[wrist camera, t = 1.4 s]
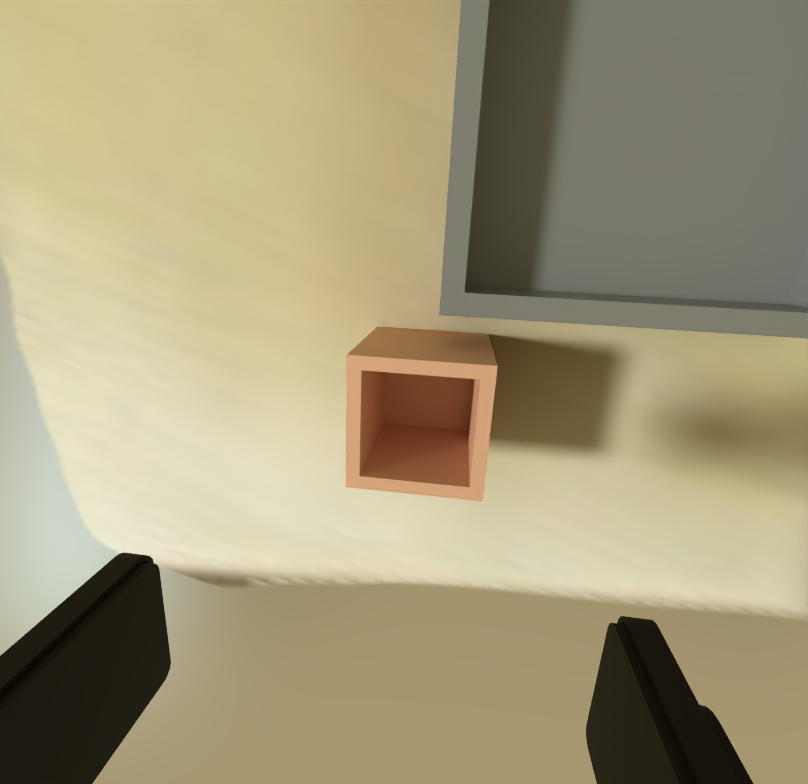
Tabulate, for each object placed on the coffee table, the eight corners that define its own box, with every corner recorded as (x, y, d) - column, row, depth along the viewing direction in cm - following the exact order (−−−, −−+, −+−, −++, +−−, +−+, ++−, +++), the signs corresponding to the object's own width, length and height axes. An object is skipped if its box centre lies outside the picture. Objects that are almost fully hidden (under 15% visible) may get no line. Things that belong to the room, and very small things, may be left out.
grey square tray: (473, -112, 19) (476, -216, 15) (928, -127, 17) (1080, -249, 13) (443, 302, 24) (439, 314, 20) (790, 324, 22) (867, 342, 18)
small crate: (377, 326, 25) (346, 354, 18) (488, 333, 24) (497, 366, 18) (374, 428, 27) (346, 486, 20) (477, 437, 26) (482, 501, 20)
